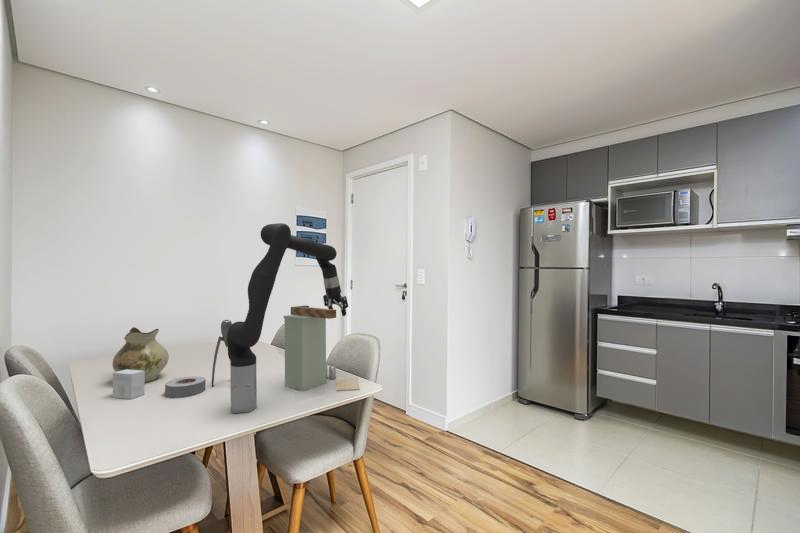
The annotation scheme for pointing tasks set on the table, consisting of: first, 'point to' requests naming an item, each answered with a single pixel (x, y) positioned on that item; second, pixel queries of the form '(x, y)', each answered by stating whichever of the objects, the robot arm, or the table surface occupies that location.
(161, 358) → the green ceramic vase
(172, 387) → the tape roll
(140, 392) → the skincare box
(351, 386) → the mat
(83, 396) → the table surface
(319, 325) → the tall sage green pillar
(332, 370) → the cylinder
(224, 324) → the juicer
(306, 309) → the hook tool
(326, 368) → the spacer
